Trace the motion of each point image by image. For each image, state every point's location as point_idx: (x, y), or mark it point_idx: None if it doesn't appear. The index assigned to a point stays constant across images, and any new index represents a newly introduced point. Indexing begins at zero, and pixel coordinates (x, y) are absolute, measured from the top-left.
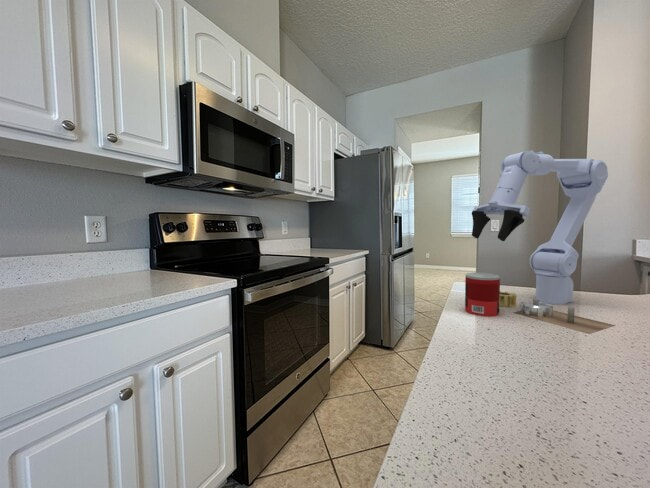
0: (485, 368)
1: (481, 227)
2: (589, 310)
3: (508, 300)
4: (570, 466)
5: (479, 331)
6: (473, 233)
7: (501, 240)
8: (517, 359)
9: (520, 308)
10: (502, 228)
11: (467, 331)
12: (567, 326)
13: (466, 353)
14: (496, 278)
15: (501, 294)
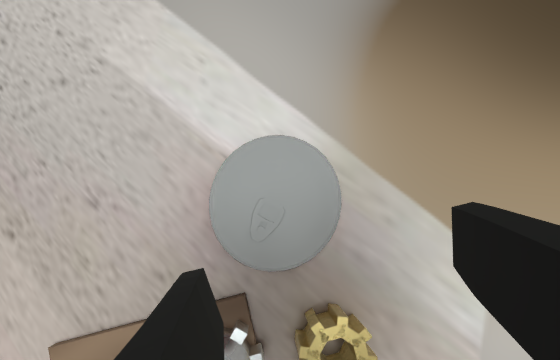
0: (6, 4)
1: (557, 355)
2: None
3: (304, 341)
4: None
5: (164, 116)
6: (467, 208)
7: (217, 314)
8: (17, 87)
9: (237, 323)
10: (151, 328)
11: (172, 88)
12: (104, 344)
13: (68, 10)
14: (211, 220)
15: (332, 338)
